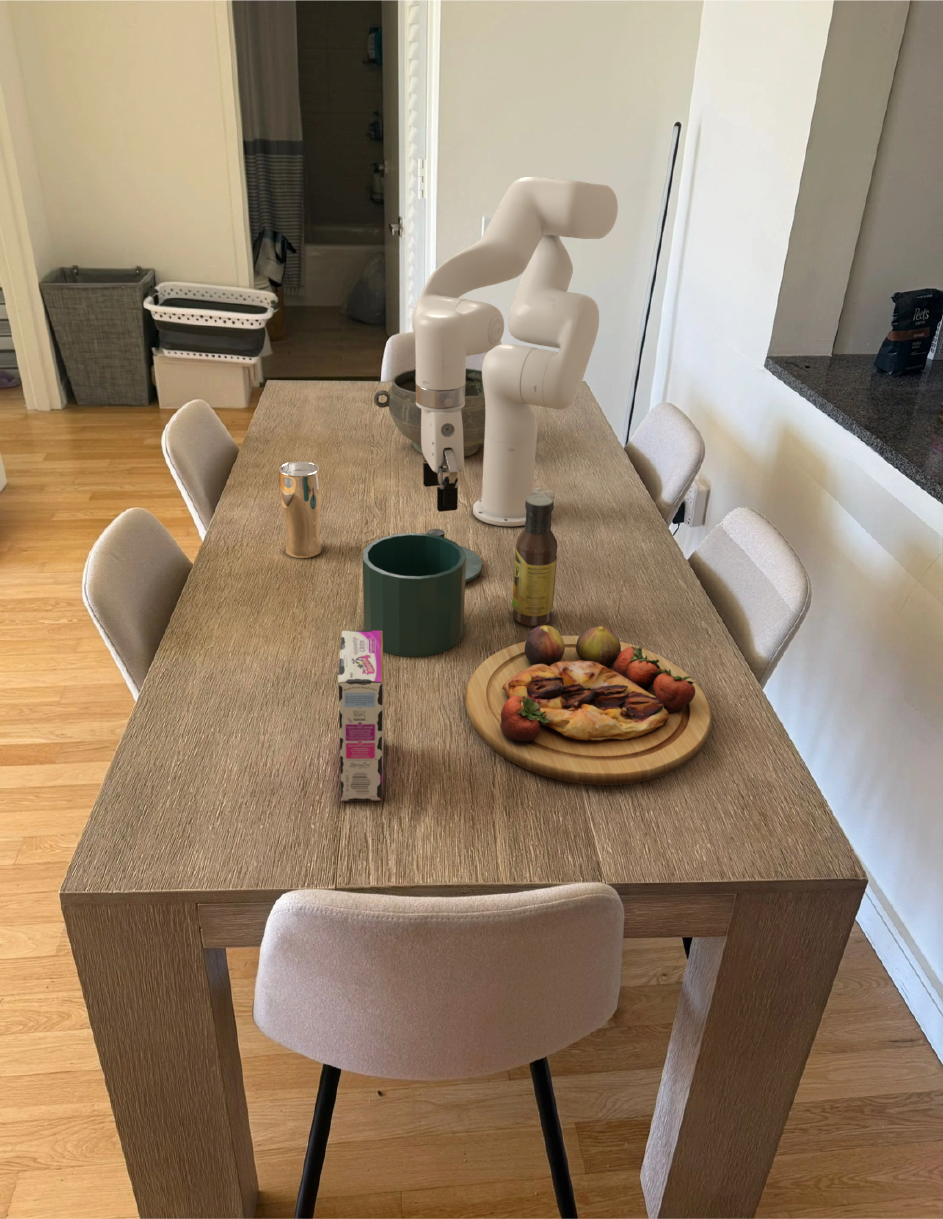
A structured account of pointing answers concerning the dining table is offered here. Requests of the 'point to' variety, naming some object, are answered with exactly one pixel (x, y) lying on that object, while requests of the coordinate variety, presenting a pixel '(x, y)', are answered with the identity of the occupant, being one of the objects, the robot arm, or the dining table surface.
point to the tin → (414, 593)
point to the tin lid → (471, 558)
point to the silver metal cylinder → (301, 507)
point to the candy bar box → (361, 715)
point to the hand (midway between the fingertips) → (439, 497)
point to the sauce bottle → (535, 564)
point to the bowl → (409, 413)
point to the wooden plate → (587, 708)
